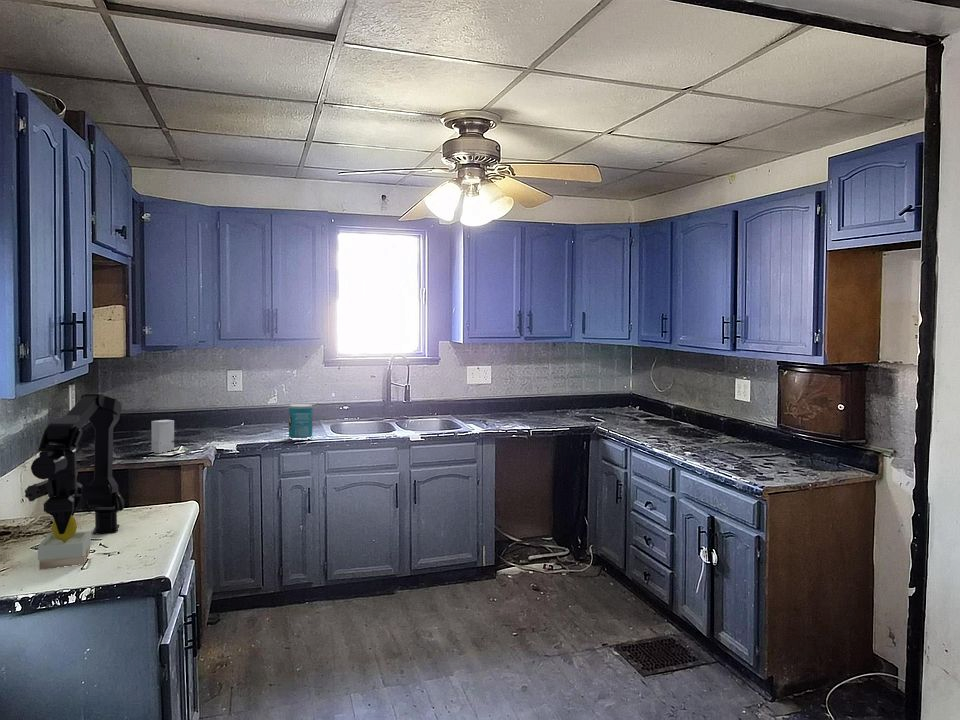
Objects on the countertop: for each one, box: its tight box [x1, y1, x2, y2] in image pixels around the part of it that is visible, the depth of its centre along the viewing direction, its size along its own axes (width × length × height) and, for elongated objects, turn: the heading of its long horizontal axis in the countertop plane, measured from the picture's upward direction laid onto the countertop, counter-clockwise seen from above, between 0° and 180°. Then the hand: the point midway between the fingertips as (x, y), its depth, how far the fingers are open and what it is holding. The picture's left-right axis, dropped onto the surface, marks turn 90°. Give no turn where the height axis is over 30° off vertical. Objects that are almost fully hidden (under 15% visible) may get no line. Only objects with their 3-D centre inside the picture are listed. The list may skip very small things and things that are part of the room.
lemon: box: [51, 515, 78, 542], centre depth 179 cm, size 6×6×8 cm
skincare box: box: [150, 419, 175, 454], centre depth 317 cm, size 8×6×15 cm
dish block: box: [37, 530, 92, 561], centre depth 179 cm, size 10×10×4 cm
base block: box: [38, 544, 91, 570], centre depth 179 cm, size 10×10×3 cm
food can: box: [288, 403, 313, 438], centre depth 357 cm, size 12×12×18 cm
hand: (64, 528), depth 179 cm, fingers open, 9 cm apart
